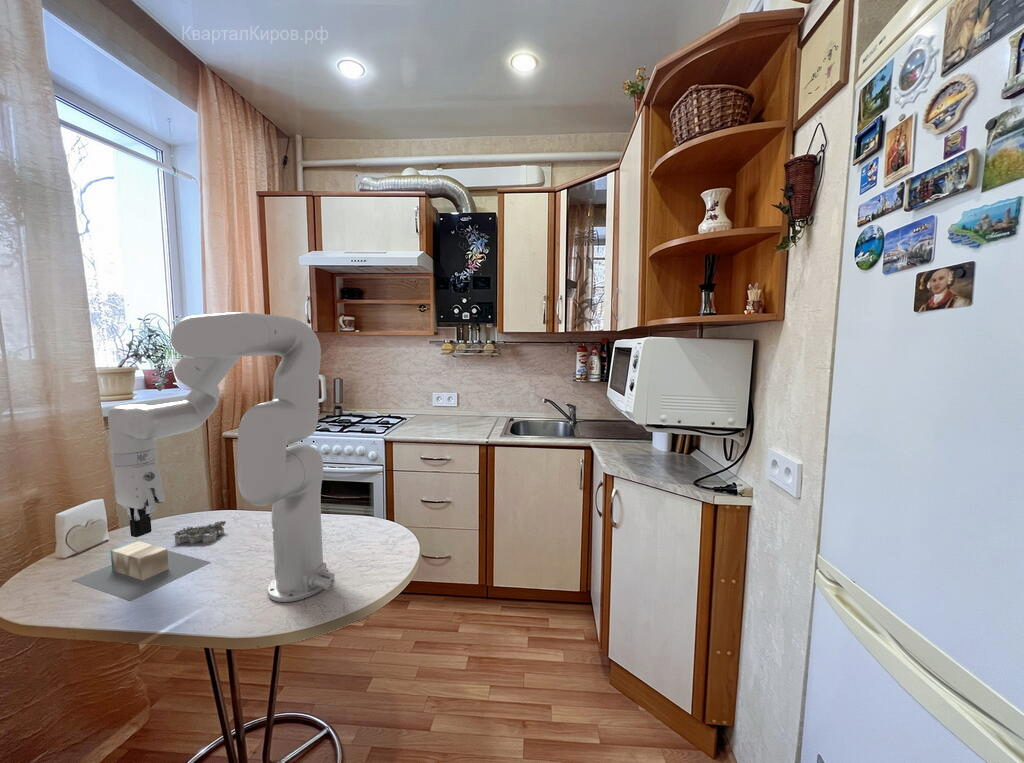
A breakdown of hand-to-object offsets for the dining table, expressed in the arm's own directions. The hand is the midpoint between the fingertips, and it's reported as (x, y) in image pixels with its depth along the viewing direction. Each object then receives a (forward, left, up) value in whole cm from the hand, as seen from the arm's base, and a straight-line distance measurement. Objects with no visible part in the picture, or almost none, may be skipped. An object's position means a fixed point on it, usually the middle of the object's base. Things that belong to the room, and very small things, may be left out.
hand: (141, 534), depth 93 cm
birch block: (-5, 0, -6) cm, 8 cm away
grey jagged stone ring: (+6, -16, -10) cm, 19 cm away
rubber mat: (0, 0, -10) cm, 10 cm away
